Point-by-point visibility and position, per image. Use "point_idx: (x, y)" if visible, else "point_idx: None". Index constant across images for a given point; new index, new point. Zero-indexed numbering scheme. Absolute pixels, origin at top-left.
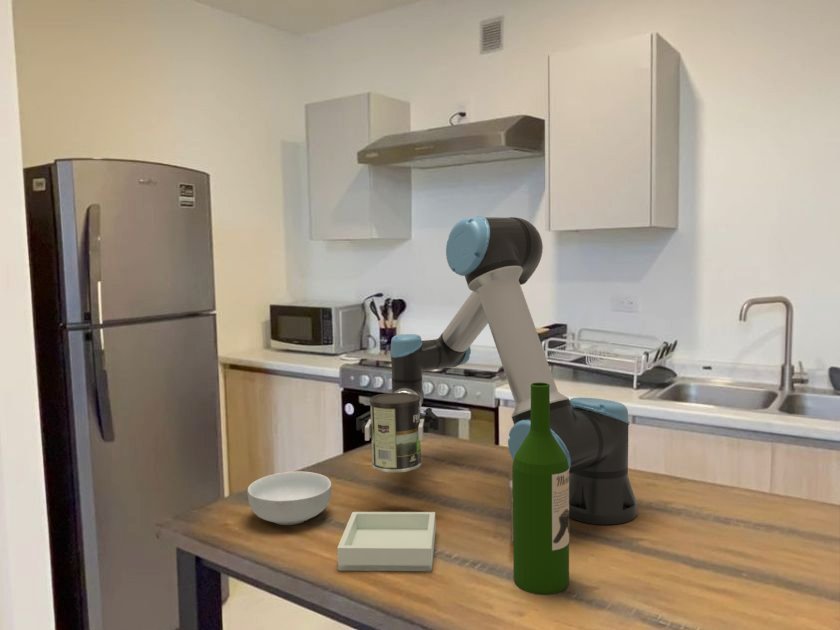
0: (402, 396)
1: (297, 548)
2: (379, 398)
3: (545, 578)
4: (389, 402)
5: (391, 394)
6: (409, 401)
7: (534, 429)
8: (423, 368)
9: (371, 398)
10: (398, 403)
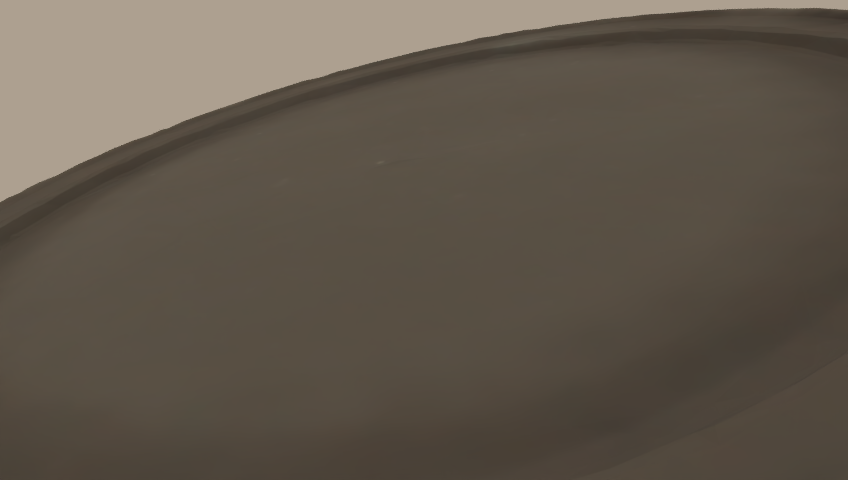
0: (244, 301)
1: None
2: (721, 75)
3: None
4: (407, 81)
5: (841, 367)
6: (125, 151)
7: None
8: None
9: (840, 19)
10: (275, 94)
